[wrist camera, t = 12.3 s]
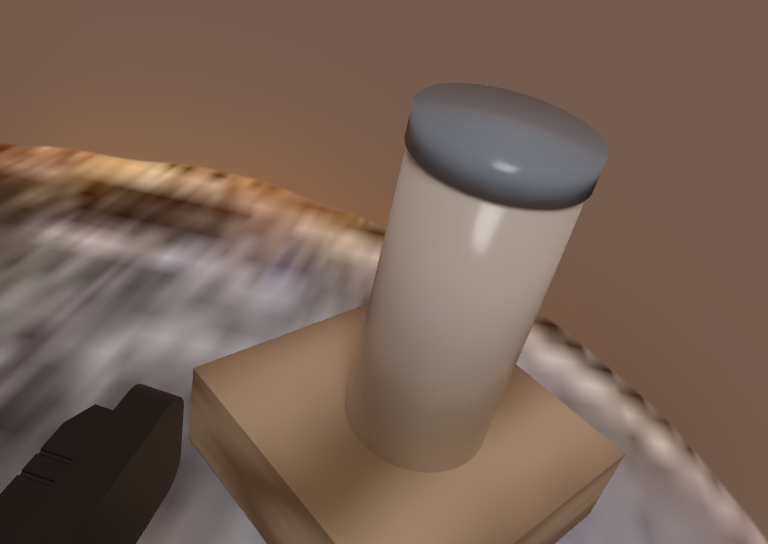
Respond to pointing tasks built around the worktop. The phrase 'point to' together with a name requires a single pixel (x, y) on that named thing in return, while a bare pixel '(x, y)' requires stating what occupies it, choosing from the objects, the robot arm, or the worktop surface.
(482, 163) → the canister
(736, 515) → the worktop surface
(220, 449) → the base block
